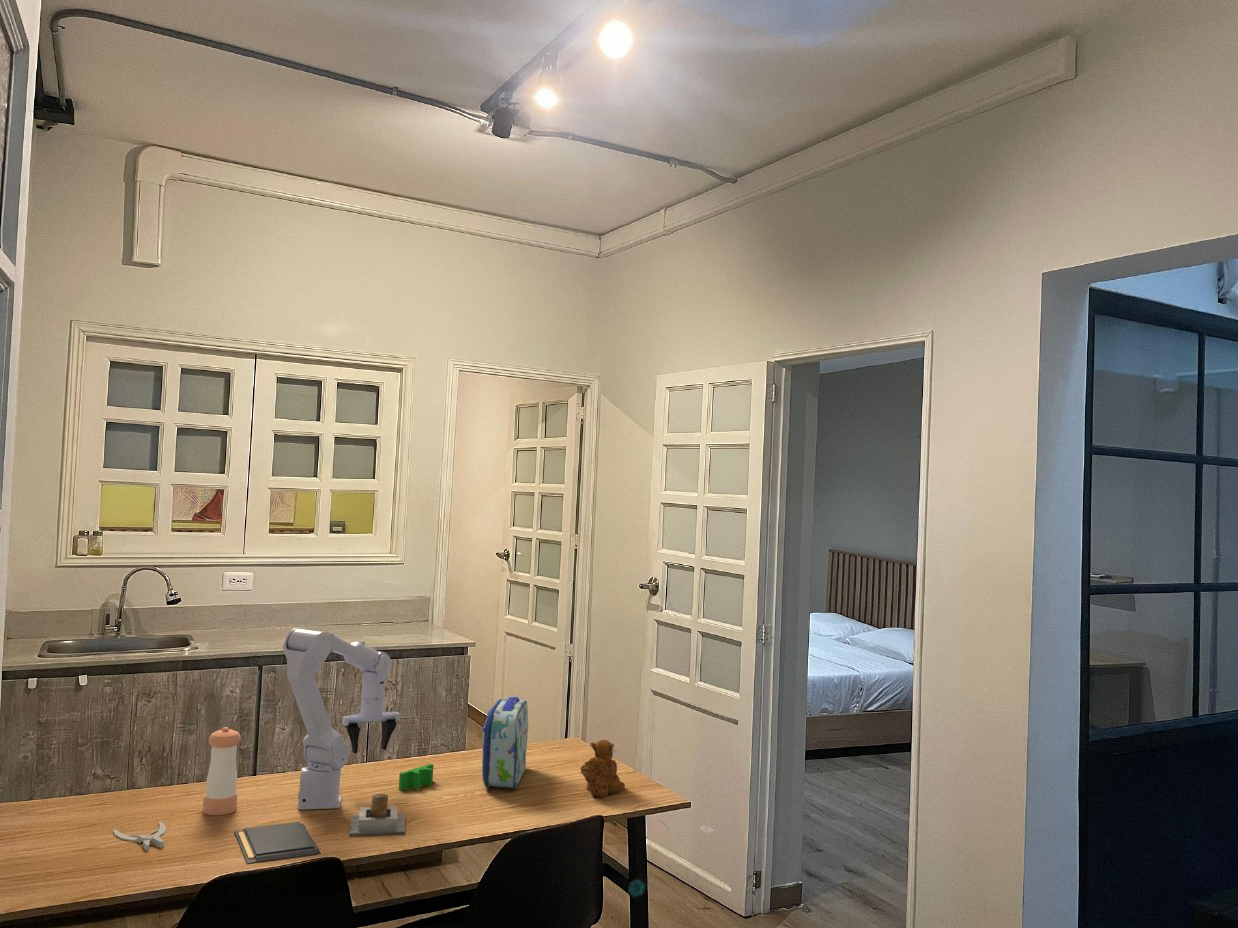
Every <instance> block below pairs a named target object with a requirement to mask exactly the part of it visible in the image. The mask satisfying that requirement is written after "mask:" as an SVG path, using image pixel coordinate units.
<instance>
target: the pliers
mask: <svg viewBox="0 0 1238 928" xmlns="http://www.w3.org/2000/svg"><path fill="white" fill-rule="evenodd" d="M158 826H159V829H155V830H153V831H150V832H149V833H148V834H147V835H146V834H145V835H144V834H142V835H140V834H124V833H122V832H120V831H118V830H117V829H113V835H114V837H116V838H118V839H120V840H123V841H126V840H128V841H127V842H133V843H140V844H141V843H142V847H143V849H144V851H147V852H149V851H150V846H151V845H153V846H155V847H157V848H159V849H162V848H164V847H165V840H163V839H162V837H161V836H163V835H164V834H165V833H166V831H167V828H166V827H167V826H166V825H165V823H163V821H158Z"/></svg>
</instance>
